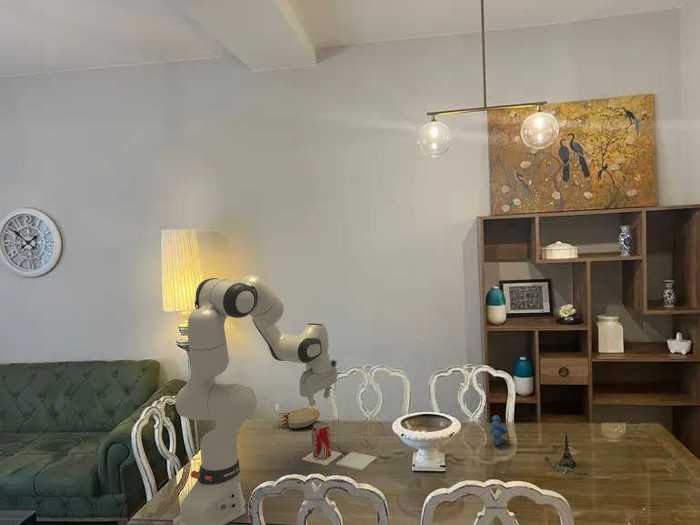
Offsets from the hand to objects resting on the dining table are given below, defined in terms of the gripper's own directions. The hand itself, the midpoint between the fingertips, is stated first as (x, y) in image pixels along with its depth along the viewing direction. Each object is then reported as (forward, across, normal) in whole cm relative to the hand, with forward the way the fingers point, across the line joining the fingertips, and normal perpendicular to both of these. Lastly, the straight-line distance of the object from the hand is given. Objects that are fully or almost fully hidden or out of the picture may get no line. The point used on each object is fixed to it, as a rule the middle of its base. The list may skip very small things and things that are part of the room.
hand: (319, 401), depth 192 cm
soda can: (+21, 0, 0) cm, 21 cm away
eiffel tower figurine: (+22, +30, -82) cm, 90 cm away
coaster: (+21, +2, -14) cm, 26 cm away
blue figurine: (+22, +38, -57) cm, 72 cm away
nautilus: (+22, +21, +29) cm, 42 cm away
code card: (+21, 0, 0) cm, 21 cm away
